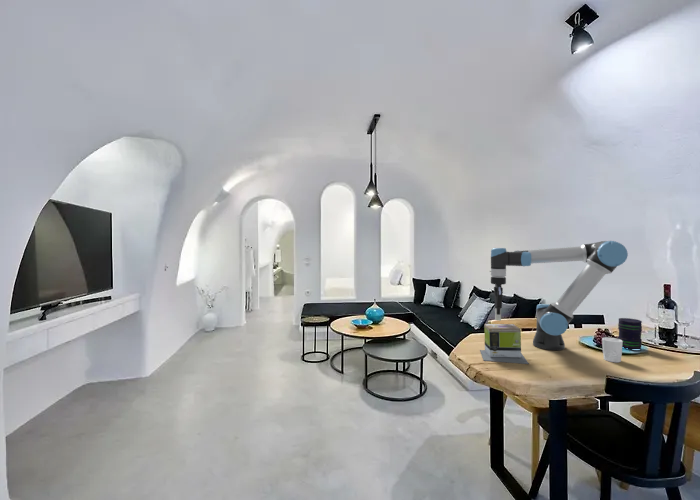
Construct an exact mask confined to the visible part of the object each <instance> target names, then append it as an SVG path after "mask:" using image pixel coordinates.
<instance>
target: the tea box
mask: <svg viewBox="0 0 700 500" xmlns="http://www.w3.org/2000/svg"><path fill="white" fill-rule="evenodd" d="M483 331H484V350H485V351H486V353H487V354H488V355H489V356H490V357H517V358H521V353H522V341H521V337H522V336H521V334H522V333H521V332H522V331H521V328H520V327H518V326H517V325H516V324H514V323H484V330H483Z"/></svg>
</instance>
